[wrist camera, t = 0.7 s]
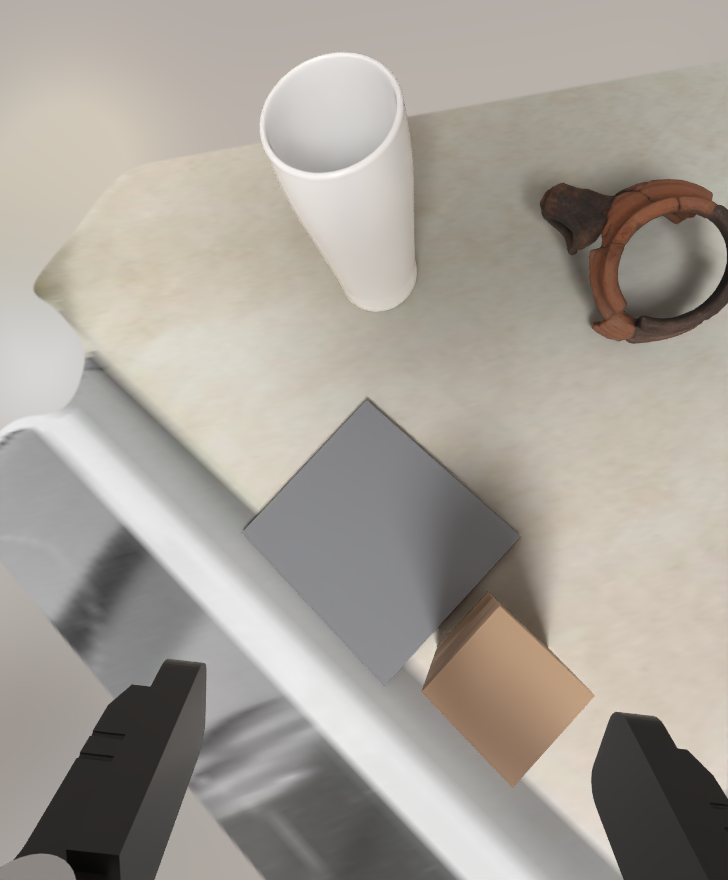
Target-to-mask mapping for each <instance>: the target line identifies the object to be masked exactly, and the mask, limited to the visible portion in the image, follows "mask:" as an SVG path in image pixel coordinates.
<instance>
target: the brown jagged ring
mask: <svg viewBox="0 0 728 880" xmlns="http://www.w3.org/2000/svg"><path fill="white" fill-rule="evenodd" d="M712 197H713V194H712V192H710V191H709V190H707V189H705V188H704V187H702V186H700V185H697V184H694V183H691V182H687V181H683V180H671V179H665V180H652V181H650V182H643V183H639V184H636V185H634V186H631V187H629V188H626V189H624V190H622V191H620V192H618V193H616V195H614V196H607V195H603V194H600V193H597V192H594V191H592V190H589V189H582V188H576V187H573V186H569V185H567V184H565V183H560V184H558V185H556V186H554V187H552V188H551V189H550V190H548V191H547V192H546V193H545V194H544V196H543V198H542V200H541V202H540V206H541V210H542V216H543V217H544V219H545V220H546V221H548V222H549V223H550V224H551V225H552V226H553V227H554V228H556V229H557V230H558V231H559V232H560V233H561V234H562V235H563V236H564V238H565V240H566V243H567V248H568V252H569V254H570V255H574V254H576V253H577V250H580V249H583V248H585V247H587V246H589V245H591V244H592V243H594V242H595V241H596V240H597V238H598V237H599V236H600V234H601V233H602V245H601V247H600V248H598V249H594V250H591V251H590V255H589V259H590V261H589V268H590V282H591V286H592V290H593V294H594V299H595V303H596V305H597V307H598V309H599V311H600V313H601V314H602V316H603V317H604V318H605V320H603V321H601V322H594V323H593V325H592V329H593V330H595V331H596V332H597V333H599V334H601V335H603V336H605V337H606V338H609V339H614V340H616V341H621V340H626V341H627V342H629V343H645V342H652V341H660V340H664V339H668V338H672V337H675V336H678V335H681V334H683V333H685V332H688V331H690V330H692V329H694V328H695V327H696V326H697V325H699V324H701V323H702V322H703V321H704V320H708V319H710V318H711V317H712V316H714V315H715V314H717V313H718V312H719V311H720V310H721V309H722V308H723V307H724V306H725V305H726V304H727V303H728V210H727V209H726V208H725V207H724V206H722V205H717V204H716V203H715V202H713V201H712ZM696 214H697V215H700V216H702V217H704V218H707V219H709V220H710V221H711V222H713V223H714V224H715V225H716V227H717V228H718V229H719V230H720V232H721V234H722V236H723V238H724V240H725V243H726V248H727V264H726V268H725V272H724V275H723V277H722V279H721V281H720V283H719V285H718V287H717V288H716V290H715V291H714V292H713V294H712V295H711V296H710V297H709V298H708V299H707V300H706V301H705V302H704V303H703V304H701V305H700V306H699V307H697V308H696V309H694V310H692V311H690V312H687V313H685V314H683V315H680V316H677V317H672V318H652V317H648V316H641V317H640V318H638V319H635V318H633V317H632V316H630V315H628V314H627V313H625V311H624V309H625V308H626V306H627V302H626V300H625V299H624V297H623V295H622V293H621V290H620V287H619V284H618V266H619V261H620V258H621V255H622V252H623V250H624V246H625V245H626V243H627V242H628V241H629V239H630V238H631V237H632V236H633V234H634V233H635V232H636V231H638V230H639V229H640V228H641V227H642V226H643V225H645V224H646V223H648V222H649V221H651V220H652V219H654V218H657V217H659V216H661V215H663V216H665V217H667V218H668V219H670V220H671V221H672V222H673V223H675V224H678V223H680V222H682V221H683V220H685V219H686V218H692V217H694V216H695V215H696Z"/></svg>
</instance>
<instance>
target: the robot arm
mask: <svg viewBox="0 0 728 880" xmlns="http://www.w3.org/2000/svg"><path fill="white" fill-rule="evenodd" d="M205 711H206V664H205V663H199V662H191V661H182V660H173V659H166V660H165V661H164V663H163V664H162V666H161V668H160V670H159V672H158V673H157V675H156V677H155V679H154V681H153V683H152V685H151V687H148V686H140V685H131V686H130V687H129V688H127V689H126V690H125V691H124V692H123V693H122V694H120V695H119V696H118V697H117V698H116V699H115V700H113V701H112V702H111V703H110V704H109V705H108V706H107V708H106V710H105V711H104V713H103V715H102V716H101V718H100V720H99V721H98V723H97V725H96V726H95V728H94V730H93V733H92V736H90V737H89V738H88V740H87V742H86V744H85V745H84V747H83V748H82V750H81V752H80V756H79V758H77V759H76V760H75V762H74V764H73V765H72V767H71V769H70V770H69V772H68V774H67V776H66V777H65V779H64V780H63V782H62V784H61V785H60V787H59V789H58V790H57V792H56V794H55V796H54V797H53V799H52V801H51V802H50V804H49V806H48V807H47V809H46V811H45V812H44V814H43V816H42V817H41V819H40V821H39V822H38V824H37V826H36V828H35V829H34V831H33V833H32V834H31V836H30V838H29V839H28V841H27V843H26V844H25V846H24V847H23V849H22V850H21V852H20V853H19V854H18V855H17V856H16V858H15V859H14V860H13V861H11V862H9V863H7V864H6V865H3V866H2V867H0V880H154V879H155V876H156V873H157V871H158V868H159V865H160V862H161V860H162V857H163V854H164V851H165V848H166V846H167V843H168V840H169V837H170V834H171V832H172V828H173V826H174V823H175V820H176V818H177V815H178V812H179V809H180V807H181V804H182V801H183V798H184V795H185V793H186V790H187V787H188V784H189V781H190V779H191V776H192V773H193V770H194V767H195V765H196V762H197V759H198V756H199V753H200V749H201V745H202V740H203V735H204V729H205ZM591 783H592V793H593V798H594V802H595V805H596V808H597V811H598V813H599V816H600V818H601V821H602V824H603V826H604V829H605V832H606V834H607V837H608V840H609V842H610V845H611V847H612V850H613V853H614V855H615V858H616V861H617V863H618V866H619V868H620V871H621V874H622V876H623V879H624V880H728V798H727V797H726V795H725V794H724V792H723V790H722V789H721V787H720V786H719V784H718V782H717V781H716V779H715V778H714V776H713V775H712V774H711V773H710V772H709V771H708V770H707V769H706V768H705V767H704V766H703V765H702V764H701V763H700V762H699V761H698V760H697V759H696V758H695V757H694V756H693V755H692V754H691V753H690V752H689V751H688V750H685V749H678V748H677V747H676V745H675V743H674V742H673V740H672V738H671V737H670V735H669V733H668V731H667V730H666V728H665V726H664V725H663V723H662V722H661V721H660V720H659V719H658V718H657V717H655V716H648V715H639V714H630V713H622V712H615V713H613V714H612V716H611V717H610V719H609V722H608V725H607V728H606V731H605V734H604V737H603V739H602V742H601V745H600V748H599V751H598V754H597V757H596V759H595V762H594V765H593V769H592V777H591Z"/></svg>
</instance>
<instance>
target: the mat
mask: <svg viewBox="0 0 728 880" xmlns="http://www.w3.org/2000/svg"><path fill="white" fill-rule="evenodd" d="M242 534H243V535H244V536H245V537H246V538H247V539H248V540H249V541H250V542H251V543H252V545H253V546H254V547H255V548H256V549H257V550H258V551H259V552H260V553H261V554H262V555H263V556H264V557H265V559H266V560H267V561H268V562H269V563H270V564H271V565H272V566H273V567H274V568H275V569H276V570H277V571H278V573H279V574H280V575H281V576H282V577H283V578H284V579H285V580H286V581H287V582H288V583H289V584H290V585H291V586H292V588H293V589H294V590H295V591H296V592H297V593H298V594H299V595H300V596H301V597H302V598H303V599H304V600H305V602H306V603H307V604H308V605H309V606H310V607H311V608H312V609H313V610H314V611H315V612H316V613H317V614H318V616H319V617H320V618H321V619H322V620H323V621H324V622H325V623H326V624H327V625H328V626H329V627H330V628H331V629H332V631H333V632H334V633H335V634H336V635H337V636H338V637H339V638H340V639H341V640H342V641H343V642H344V643H345V645H346V646H347V647H348V648H349V649H350V650H351V651H352V652H353V653H354V654H355V655H356V656H357V657H358V658H359V660H360V661H361V662H362V663H363V664H364V665H365V666H366V667H367V668H368V669H369V670H370V671H371V672H372V674H373V675H374V676H375V677H376V678H377V679H378V680H379V681H380V682H381V683H382V684H383V685H384V686H385V685H386V684H387V682H388V681H389V680H390V679H391V678H392V677H393V676H394V675H395V674H396V673H397V671H398V670H399V669H400V668H401V667H402V666H403V665H404V664H405V663H406V662H407V661H408V659H409V658H410V657H411V656H412V655H413V654H414V653H415V652H416V651H417V650H418V648H419V647H420V646H421V645H422V644H423V643H424V642H425V641H426V640H427V639H428V637H429V636H430V635H431V634H432V633H433V632H434V631H435V630H436V629H437V628H438V627H439V625H440V624H441V623H442V622H443V621H444V620H445V619H446V618H447V617H448V616H449V614H450V613H451V612H452V611H453V610H454V609H455V608H456V607H457V606H458V605H459V603H460V602H461V601H462V600H463V599H464V598H465V597H466V596H467V595H468V594H469V593H470V591H471V590H472V589H473V588H474V587H475V586H476V585H477V584H478V583H479V582H480V580H481V579H482V578H483V577H484V576H485V575H486V574H487V573H488V572H489V571H490V570H491V568H492V567H493V566H494V565H495V564H496V563H497V562H498V561H499V560H500V559H501V557H502V556H503V555H504V554H505V553H506V552H507V551H508V550H509V549H510V548H511V546H512V545H513V544H514V543H515V542H516V541H517V540H518V539H519V538H520V537H521V536H520V535H519V534H518V533H517V532H515V531H514V530H513V529H512V528H511V527H510V526H509V525H508V524H506V523H505V522H504V521H503V520H502V519H501V518H500V517H498V516H497V515H496V514H495V513H494V512H493V511H492V510H491V509H489V508H488V507H487V506H486V505H485V504H484V503H483V502H482V501H480V500H479V499H478V498H477V497H476V496H475V495H474V494H472V493H471V492H470V491H469V490H468V489H467V488H466V487H465V486H463V485H462V484H461V483H460V482H459V481H458V480H457V479H456V478H454V477H453V476H452V475H451V474H450V473H449V472H448V471H446V470H445V469H444V468H443V467H442V466H441V465H440V464H439V463H437V462H436V461H435V460H434V459H433V458H432V457H431V456H430V455H428V454H427V453H426V452H425V451H424V450H423V449H422V448H420V447H419V446H418V445H417V444H416V443H415V442H414V441H413V440H411V439H410V438H409V437H408V436H407V435H406V434H405V433H404V432H402V431H401V430H400V429H399V428H398V427H397V426H396V425H394V424H393V423H392V422H391V421H390V420H389V419H388V418H387V417H385V416H384V415H383V414H382V413H381V412H380V411H379V410H378V409H376V408H375V407H374V406H373V405H372V404H371V403H370V402H368V401H367V400H366V401H365V402H364V403H363V404H362V405H361V406H360V407H359V408H358V409H357V410H356V412H355V413H354V414H353V415H352V416H351V417H350V418H349V419H348V420H347V421H346V422H345V423H344V424H343V425H342V426H341V428H340V429H339V430H338V431H337V432H336V433H335V434H334V435H333V436H332V437H331V438H330V439H329V440H328V441H327V442H326V443H325V445H324V446H323V447H322V448H321V449H320V450H319V451H318V452H317V453H316V454H315V455H314V456H313V457H312V458H311V459H310V461H309V462H308V463H307V464H306V465H305V466H304V467H303V468H302V469H301V470H300V471H299V472H298V473H297V474H296V475H295V477H294V478H293V479H292V480H291V481H290V482H289V483H288V484H287V485H286V486H285V487H284V488H283V489H282V490H281V491H280V492H279V494H278V495H277V496H276V497H275V498H274V499H273V500H272V501H271V502H270V503H269V504H268V505H267V506H266V507H265V508H264V510H263V511H262V512H261V513H260V514H259V515H258V516H257V517H256V518H255V519H254V520H253V521H252V522H251V523H250V524H249V526H248V527H247V528H246V529H245V530H244V531H243V532H242Z"/></svg>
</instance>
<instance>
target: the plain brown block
mask: <svg viewBox="0 0 728 880" xmlns="http://www.w3.org/2000/svg"><path fill="white" fill-rule="evenodd" d="M422 693H423V694H424V695H425V696H426V697H427V698H428V699H429V700H430V702H431V703H432V704H433V705H434V706H435V707H436V708H437V709H438V710H439V711H440V712H441V713H442V714H443V715H444V716H445V717H446V718H447V719H448V720H449V722H450V723H451V724H452V725H453V726H454V727H455V728H456V729H457V730H458V731H459V732H460V733H461V734H462V735H463V736H464V737H465V738H466V739H467V740H468V741H469V743H470V744H471V745H472V746H473V747H474V748H475V749H476V750H477V751H478V752H479V753H480V754H481V755H482V756H483V757H484V758H485V759H486V760H487V761H488V763H489V764H490V765H491V766H492V767H493V768H494V769H495V770H496V771H497V772H498V773H499V774H500V775H501V776H502V777H503V778H504V779H505V780H506V781H507V782H508V784H509V785H510V786H511V787H512V788H513V787H514V786H515V785H516V784H517V782H518V781H519V780H520V779H521V778H522V777H523V776H524V775H525V773H526V772H527V771H528V770H529V769H530V768H531V767H532V766H533V764H534V763H535V762H536V761H537V760H538V759H539V758H540V757H541V755H542V754H543V753H544V752H545V751H546V750H547V749H548V748H549V747H550V745H551V744H552V743H553V742H554V741H555V740H556V739H557V738H558V736H559V735H560V734H561V733H562V732H563V731H564V730H565V729H566V727H567V726H568V725H569V724H570V723H571V722H572V721H573V720H574V718H575V717H576V716H577V715H578V714H579V713H580V712H581V711H582V709H583V708H584V707H585V706H586V705H587V704H588V703H589V702H590V701H591V699H592V698H593V697H594V696H595V695H594V694H593V693H592V692H591V691H590V690H589V689H588V688H587V687H586V686H585V685H584V684H583V683H582V682H581V681H580V680H579V679H578V678H577V677H576V676H575V675H574V674H573V673H572V672H571V671H570V670H569V669H568V668H567V667H566V666H565V665H564V664H563V663H562V662H561V660H560V659H559V658H558V657H557V656H556V655H555V654H554V653H553V652H552V651H551V650H550V649H549V648H548V647H547V646H546V645H544V644H543V643H542V642H541V641H540V640H539V639H538V638H537V637H536V636H535V635H534V634H533V633H532V632H531V631H530V630H529V629H527V628H526V627H525V626H524V625H523V624H522V623H521V622H520V621H519V620H518V619H517V618H516V617H515V616H514V615H513V614H511V613H510V612H509V611H508V610H507V609H506V608H505V607H504V606H503V605H502V604H501V603H500V602H499V601H498V600H497V599H496V598H494V597H493V596H492V595H491V594H490V593H489V592H487V593H486V594H485V595H484V596H483V597H482V599H481V600H480V601H479V602H478V603H477V604H476V605H475V606H474V607H473V608H472V610H471V611H470V612H469V613H468V614H467V615H466V616H465V617H464V618H463V619H462V620H461V622H460V623H459V624H458V625H457V626H456V627H455V628H454V629H453V630H452V631H451V633H450V634H449V635H448V636H447V637H446V638H445V639H444V640H443V641H442V642H441V644H440V645H439V646H438V647H437V649H436V652H435V655H434V658H433V660H432V663H431V666H430V669H429V672H428V675H427V678H426V681H425V683H424V686H423V689H422Z"/></svg>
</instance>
